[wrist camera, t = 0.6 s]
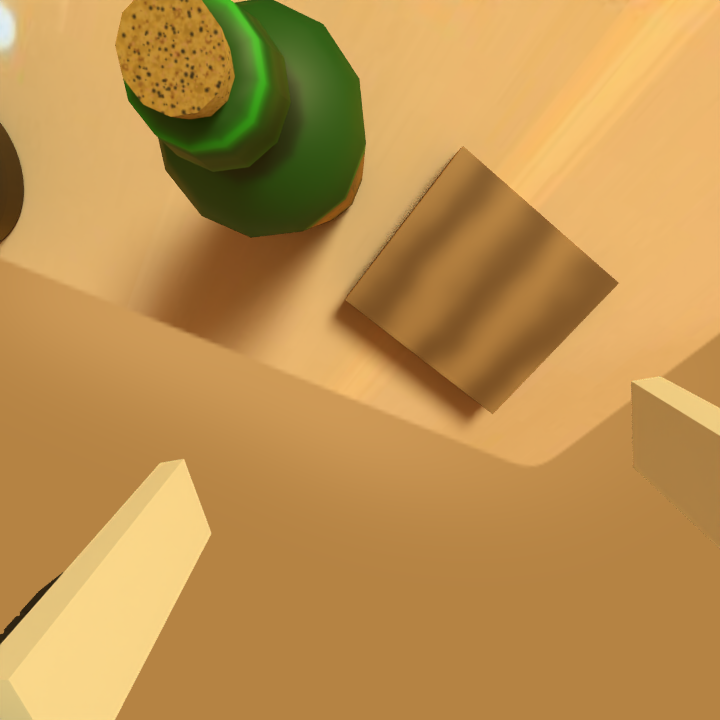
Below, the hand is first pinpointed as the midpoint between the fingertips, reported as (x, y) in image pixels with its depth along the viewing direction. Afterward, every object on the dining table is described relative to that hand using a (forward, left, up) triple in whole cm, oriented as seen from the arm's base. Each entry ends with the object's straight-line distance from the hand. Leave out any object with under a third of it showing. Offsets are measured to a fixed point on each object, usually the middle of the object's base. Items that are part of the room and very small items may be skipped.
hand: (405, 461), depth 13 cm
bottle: (-12, +5, -31) cm, 34 cm away
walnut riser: (+6, +6, -31) cm, 32 cm away
